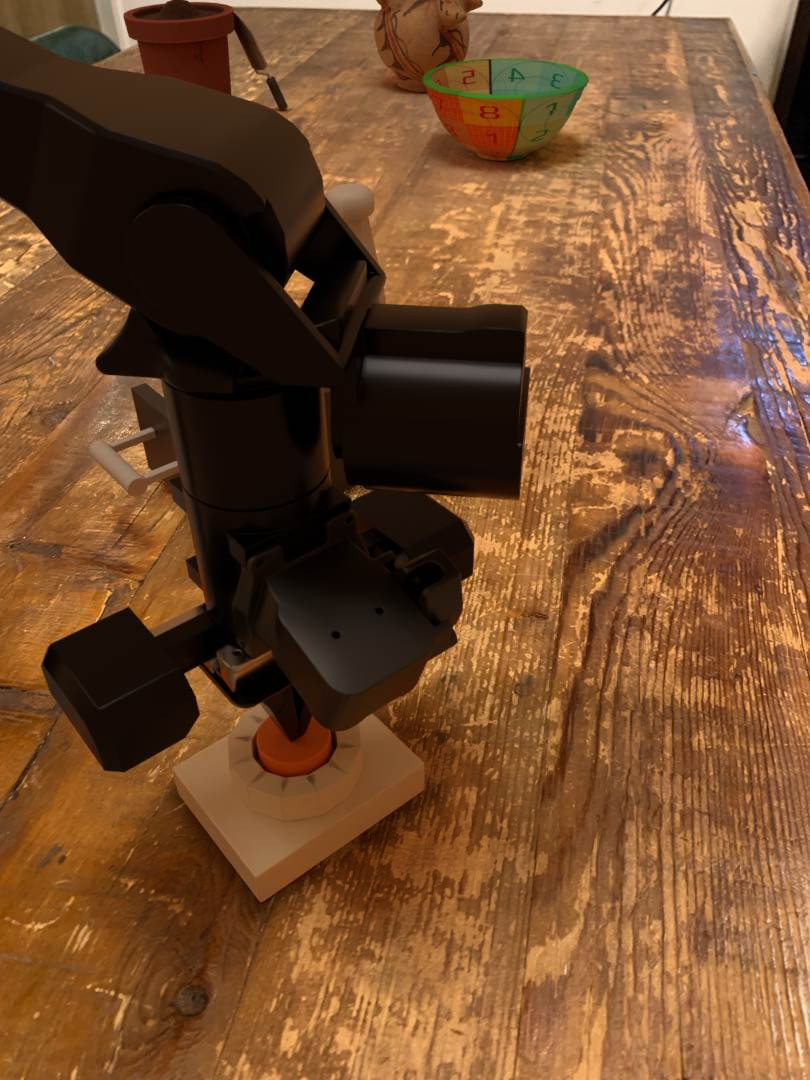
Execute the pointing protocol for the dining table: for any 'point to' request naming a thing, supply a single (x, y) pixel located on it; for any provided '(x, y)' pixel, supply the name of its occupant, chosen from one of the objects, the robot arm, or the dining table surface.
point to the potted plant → (195, 43)
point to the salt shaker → (356, 214)
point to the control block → (294, 798)
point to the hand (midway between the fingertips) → (292, 733)
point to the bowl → (504, 103)
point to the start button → (293, 750)
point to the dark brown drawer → (154, 440)
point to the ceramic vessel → (422, 36)
